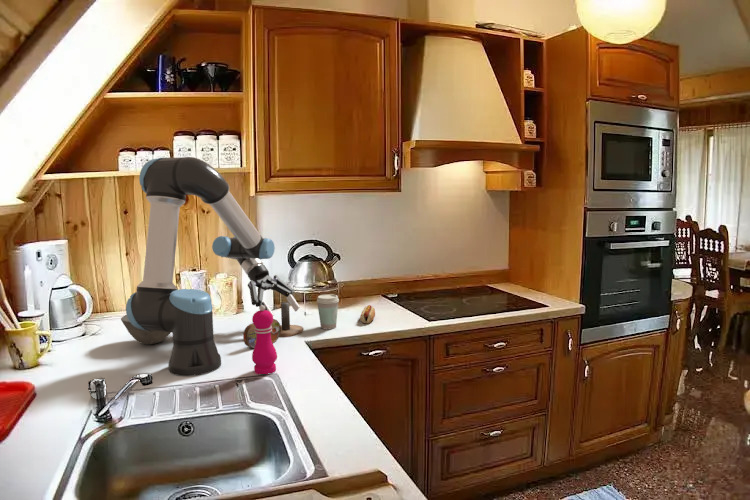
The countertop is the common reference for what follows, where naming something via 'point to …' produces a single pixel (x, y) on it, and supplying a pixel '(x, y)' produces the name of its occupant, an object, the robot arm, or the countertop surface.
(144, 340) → the bowl
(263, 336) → the pepper mill
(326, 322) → the coffee cup
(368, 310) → the food
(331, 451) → the countertop surface
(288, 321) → the walnut lid
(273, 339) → the tin
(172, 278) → the robot arm
